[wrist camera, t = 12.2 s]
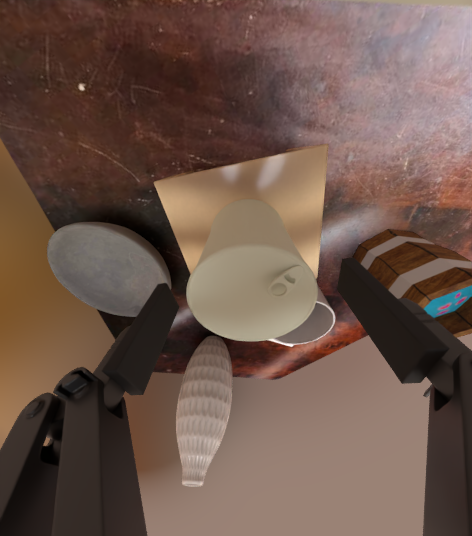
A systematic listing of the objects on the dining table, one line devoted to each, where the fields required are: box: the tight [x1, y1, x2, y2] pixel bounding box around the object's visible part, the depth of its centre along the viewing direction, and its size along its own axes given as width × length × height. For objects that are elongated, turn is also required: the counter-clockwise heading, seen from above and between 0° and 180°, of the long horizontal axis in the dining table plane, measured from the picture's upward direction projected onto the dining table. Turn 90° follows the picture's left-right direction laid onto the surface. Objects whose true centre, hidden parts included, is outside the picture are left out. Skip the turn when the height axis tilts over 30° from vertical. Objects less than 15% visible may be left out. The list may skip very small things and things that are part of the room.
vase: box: [176, 336, 232, 487], centre depth 42 cm, size 13×13×28 cm
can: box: [186, 199, 318, 341], centre depth 17 cm, size 9×9×12 cm
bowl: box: [47, 222, 171, 317], centre depth 35 cm, size 21×21×8 cm
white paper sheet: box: [269, 339, 294, 347], centre depth 50 cm, size 12×12×2 cm
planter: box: [273, 284, 335, 344], centre depth 37 cm, size 13×13×10 cm
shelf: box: [154, 144, 328, 278], centre depth 27 cm, size 16×18×12 cm
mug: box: [353, 229, 472, 338], centre depth 32 cm, size 20×14×15 cm
